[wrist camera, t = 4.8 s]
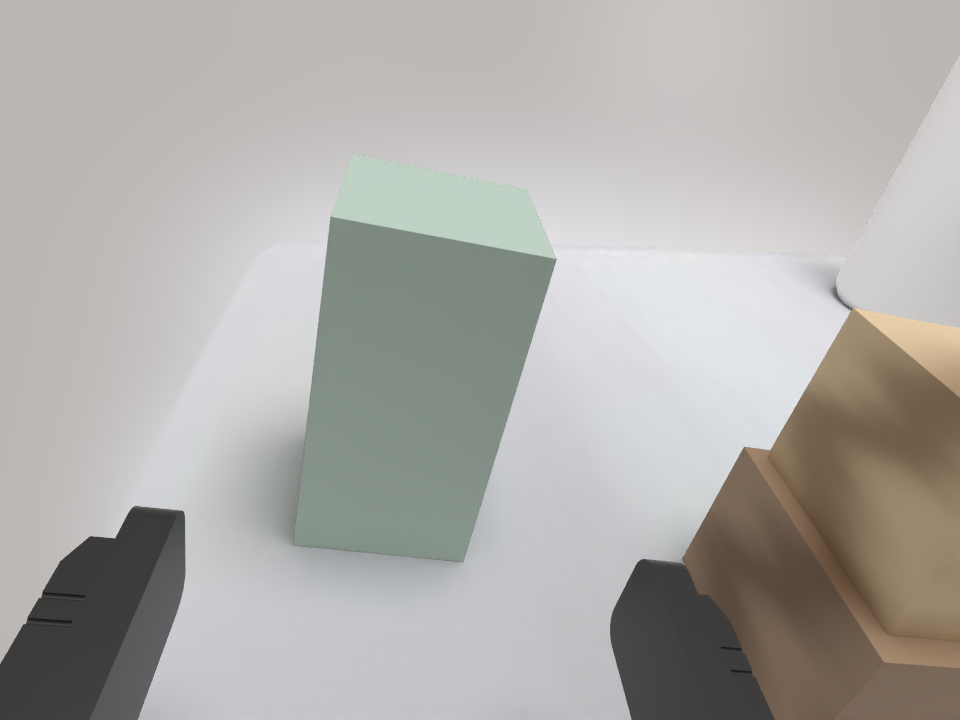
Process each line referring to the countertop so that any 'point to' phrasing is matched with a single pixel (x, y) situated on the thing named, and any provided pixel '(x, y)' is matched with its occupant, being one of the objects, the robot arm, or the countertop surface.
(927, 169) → the alcohol
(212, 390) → the countertop surface
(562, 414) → the countertop surface
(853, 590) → the walnut block
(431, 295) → the sage pillar
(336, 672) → the countertop surface
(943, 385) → the oak block
